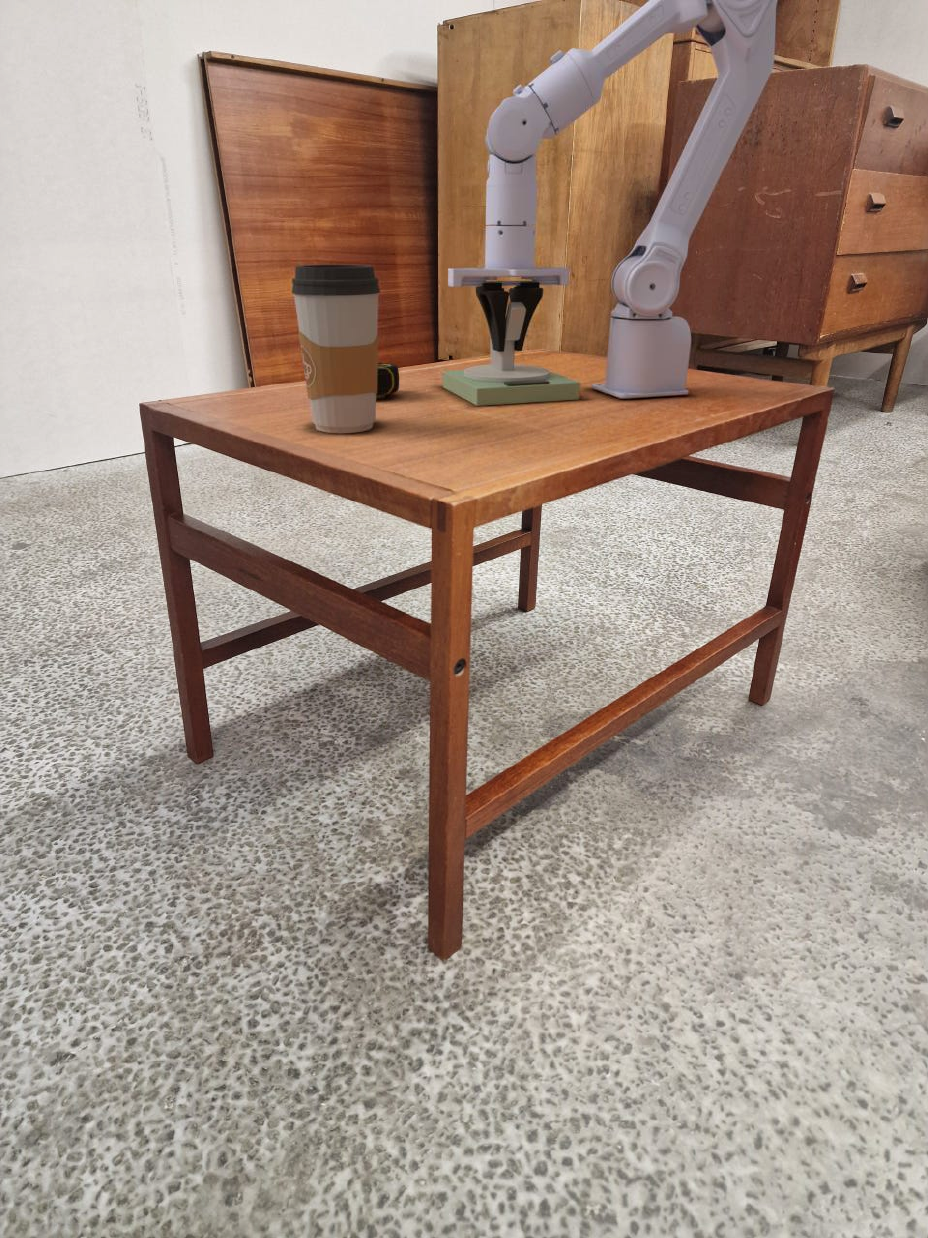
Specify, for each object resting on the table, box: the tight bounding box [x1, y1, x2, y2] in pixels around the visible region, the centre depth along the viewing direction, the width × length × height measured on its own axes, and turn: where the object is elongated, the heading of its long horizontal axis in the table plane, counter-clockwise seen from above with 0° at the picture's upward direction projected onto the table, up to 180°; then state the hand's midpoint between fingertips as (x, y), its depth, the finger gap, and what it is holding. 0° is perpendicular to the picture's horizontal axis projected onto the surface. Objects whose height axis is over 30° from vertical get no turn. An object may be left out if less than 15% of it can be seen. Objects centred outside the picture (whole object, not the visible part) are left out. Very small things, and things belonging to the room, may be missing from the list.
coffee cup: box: [291, 264, 381, 434], centre depth 78 cm, size 8×8×15 cm
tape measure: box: [376, 362, 400, 400], centre depth 96 cm, size 7×7×4 cm
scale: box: [442, 363, 581, 407], centre depth 98 cm, size 13×13×3 cm
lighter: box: [489, 301, 526, 371], centre depth 97 cm, size 7×2×8 cm, turn 19°
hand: (507, 350), depth 97 cm, fingers closed on lighter, 2 cm apart
